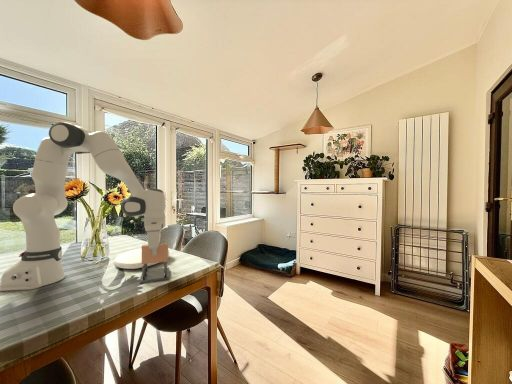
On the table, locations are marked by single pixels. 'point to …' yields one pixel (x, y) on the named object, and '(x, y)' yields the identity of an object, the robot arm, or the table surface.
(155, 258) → the tile
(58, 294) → the table surface
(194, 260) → the table surface
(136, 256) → the plate
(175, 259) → the table surface
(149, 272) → the rack
